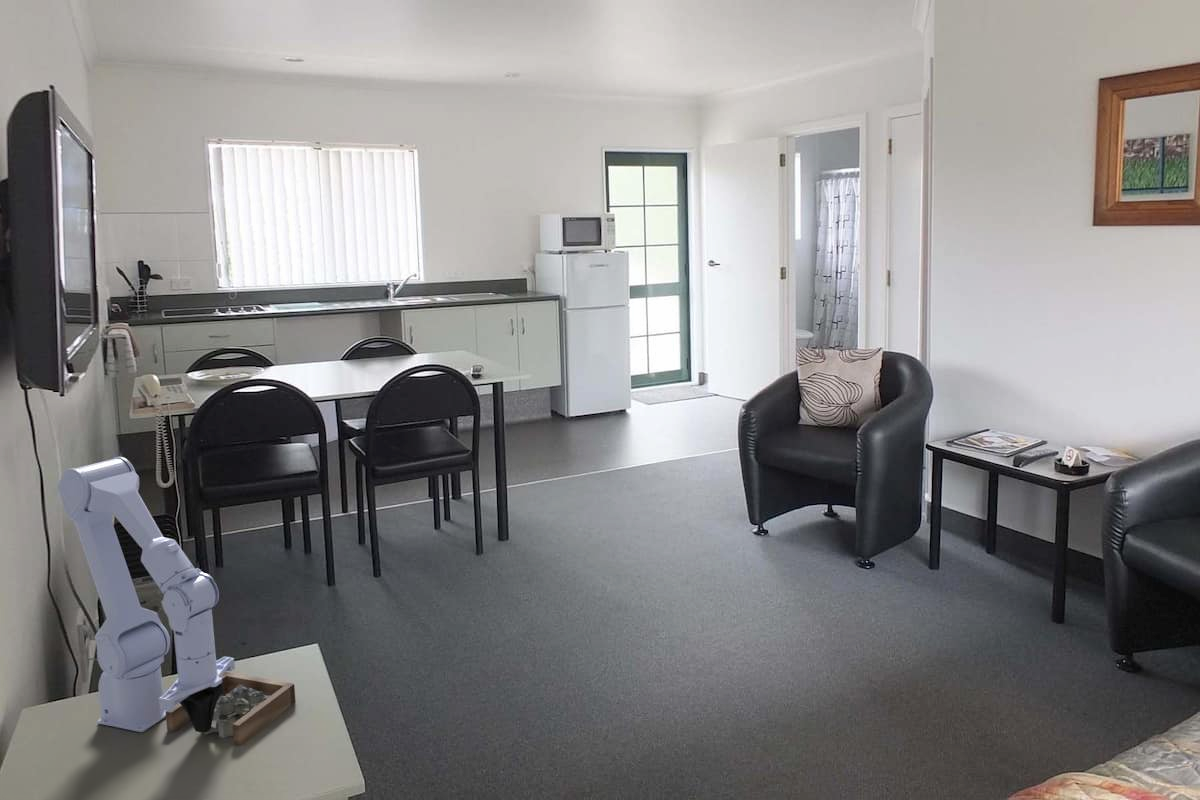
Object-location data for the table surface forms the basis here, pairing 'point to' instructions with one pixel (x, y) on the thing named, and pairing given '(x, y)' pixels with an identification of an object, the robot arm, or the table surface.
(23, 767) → the table surface
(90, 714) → the table surface
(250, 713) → the walnut u-shaped frame
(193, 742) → the table surface
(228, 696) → the egg carton
